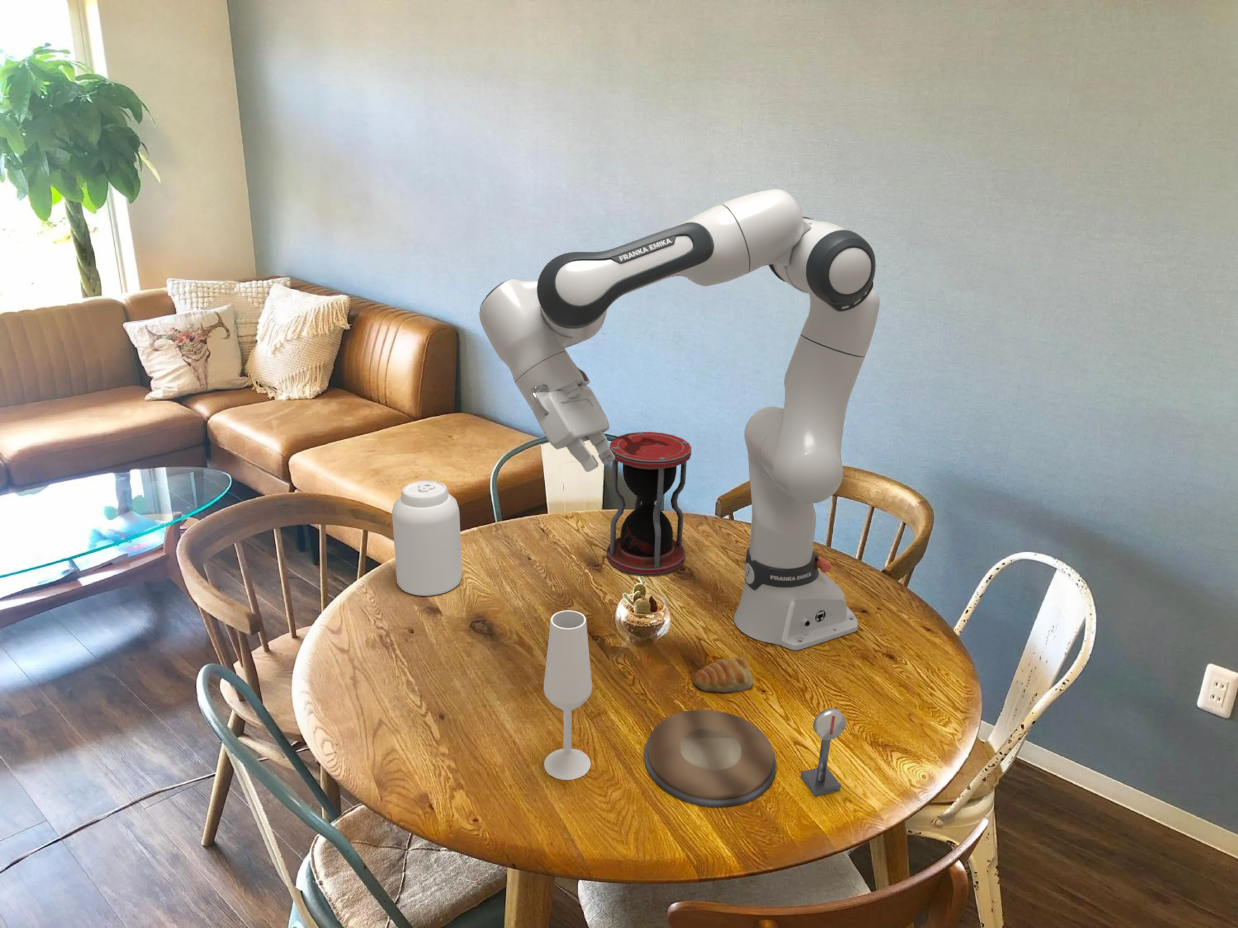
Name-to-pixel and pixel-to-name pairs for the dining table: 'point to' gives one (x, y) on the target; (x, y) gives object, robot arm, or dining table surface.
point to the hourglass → (648, 503)
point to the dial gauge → (824, 752)
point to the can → (427, 539)
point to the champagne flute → (567, 687)
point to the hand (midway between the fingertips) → (602, 465)
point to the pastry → (724, 676)
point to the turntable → (710, 758)
